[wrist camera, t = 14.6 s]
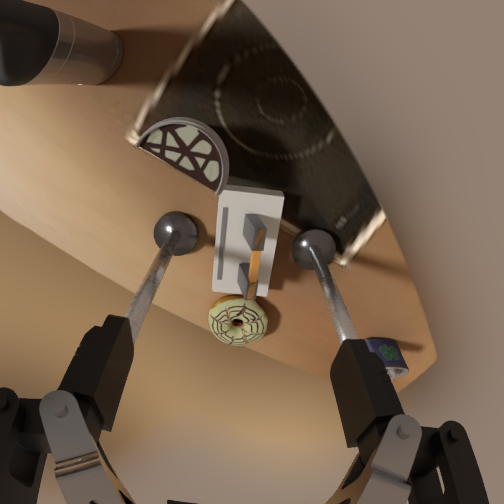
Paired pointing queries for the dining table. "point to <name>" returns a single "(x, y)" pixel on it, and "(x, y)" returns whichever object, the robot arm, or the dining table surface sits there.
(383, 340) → the flask
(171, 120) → the food container
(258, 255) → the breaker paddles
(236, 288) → the switch panel
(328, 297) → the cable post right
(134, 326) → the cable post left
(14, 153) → the dining table surface
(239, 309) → the decorated donut
